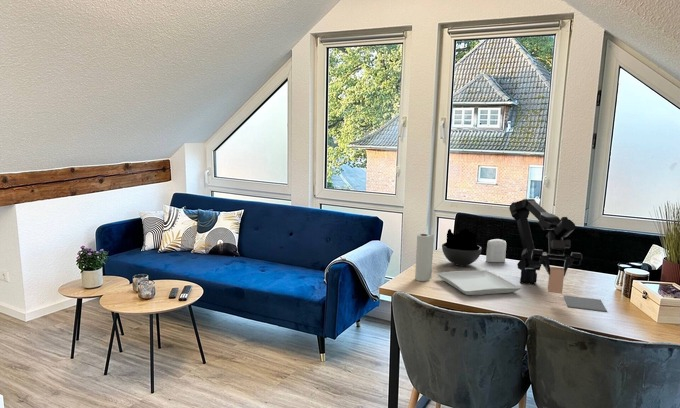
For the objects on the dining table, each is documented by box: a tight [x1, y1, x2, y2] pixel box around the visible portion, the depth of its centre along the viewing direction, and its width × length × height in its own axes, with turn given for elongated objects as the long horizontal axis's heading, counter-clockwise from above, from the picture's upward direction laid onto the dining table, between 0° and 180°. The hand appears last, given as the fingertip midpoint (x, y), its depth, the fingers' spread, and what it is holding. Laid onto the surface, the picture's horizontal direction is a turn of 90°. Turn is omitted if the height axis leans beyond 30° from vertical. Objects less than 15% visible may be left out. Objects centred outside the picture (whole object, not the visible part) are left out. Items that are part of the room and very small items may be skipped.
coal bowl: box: [441, 228, 483, 267], centre depth 250 cm, size 20×20×19 cm
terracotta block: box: [547, 266, 565, 295], centre depth 195 cm, size 5×4×10 cm
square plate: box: [435, 269, 522, 296], centre depth 216 cm, size 27×27×4 cm
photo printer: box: [485, 238, 507, 263], centre depth 259 cm, size 10×4×12 cm, turn 98°
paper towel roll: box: [414, 233, 435, 282], centre depth 222 cm, size 7×6×21 cm
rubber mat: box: [563, 294, 608, 313], centre depth 197 cm, size 14×14×1 cm
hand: (556, 275), depth 193 cm, fingers closed on terracotta block, 5 cm apart
